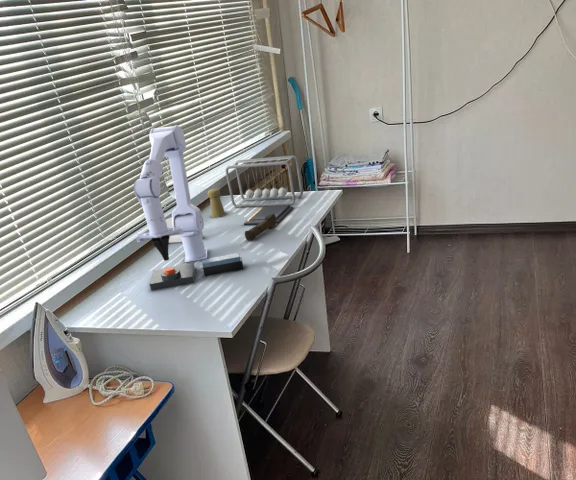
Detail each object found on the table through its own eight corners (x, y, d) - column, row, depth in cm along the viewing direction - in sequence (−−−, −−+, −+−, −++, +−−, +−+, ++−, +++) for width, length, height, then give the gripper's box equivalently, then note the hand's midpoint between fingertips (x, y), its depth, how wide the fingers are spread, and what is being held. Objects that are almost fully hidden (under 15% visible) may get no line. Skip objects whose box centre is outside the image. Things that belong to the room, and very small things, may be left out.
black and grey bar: (205, 272, 203) (202, 259, 201) (243, 265, 203) (240, 252, 201) (204, 276, 199) (201, 263, 197) (243, 269, 199) (241, 256, 197)
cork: (224, 216, 257) (219, 190, 251) (210, 218, 258) (204, 192, 252) (226, 212, 262) (220, 186, 257) (212, 214, 263) (206, 188, 257)
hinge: (160, 243, 238) (157, 216, 236) (166, 243, 243) (164, 217, 240) (198, 241, 233) (196, 214, 231) (204, 240, 237) (201, 214, 235)
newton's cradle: (232, 208, 266) (224, 166, 257) (242, 200, 274) (234, 160, 265) (295, 205, 255) (289, 161, 245) (304, 197, 262) (298, 154, 253)
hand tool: (253, 241, 222) (251, 229, 220) (245, 240, 225) (243, 228, 222) (282, 224, 235) (280, 212, 233) (274, 223, 237) (272, 212, 235)
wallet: (276, 219, 235) (241, 220, 241) (277, 224, 236) (242, 225, 242) (294, 203, 250) (260, 205, 256) (294, 207, 251) (261, 209, 257)
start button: (166, 272, 198) (164, 268, 197) (175, 270, 198) (174, 266, 197) (165, 276, 195) (164, 271, 195) (175, 274, 195) (173, 269, 195)
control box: (155, 276, 207) (151, 265, 205) (195, 269, 207) (192, 258, 205) (151, 291, 196) (148, 279, 194) (193, 283, 196) (191, 271, 194)
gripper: (130, 225, 184) (143, 267, 191) (177, 217, 184) (188, 259, 191) (133, 219, 190) (145, 260, 197) (178, 210, 190) (189, 252, 197)
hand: (166, 259), depth 194 cm, fingers closed
